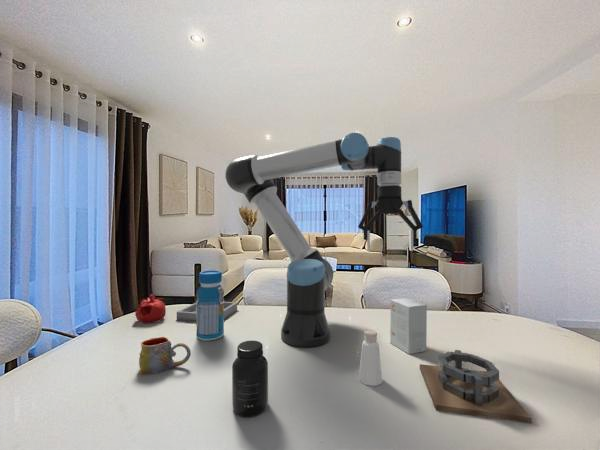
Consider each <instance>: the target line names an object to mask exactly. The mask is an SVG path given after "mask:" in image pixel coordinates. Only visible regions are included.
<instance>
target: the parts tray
mask: <svg viewBox="0 0 600 450" xmlns="http://www.w3.org/2000/svg"><path fill="white" fill-rule="evenodd" d="M195 310H196V302H194V303H192V304H190V305H188V306H186V307H184V308H182V309H180V310H178V311H176V321H179V322H180V321H182V322H190V323H191V322H193V323H197V313H196V312H195ZM237 311H238V302H236V301H235V302H232V301H224V320H225V319H227V318H229V316H231V315H232V314H233V313H235V312H237Z"/></svg>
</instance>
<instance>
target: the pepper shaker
mask: <svg viewBox="0 0 600 450" xmlns="http://www.w3.org/2000/svg"><path fill="white" fill-rule="evenodd" d="M377 339H378V332H377V331H376V330H372V329H367V330H365V331H364V340H363V341H362V343H361V344H362V345H361V355H360V362H359V372H358V380H359V382H360V383H362V384H364V385H366V386H371V387H376V386H379V385H381V384H383V378H382V377H383V375H382V366H381V365H382V364H381V356H380V355H381V354H380V343H379V342H378V341H377Z"/></svg>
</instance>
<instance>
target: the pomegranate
mask: <svg viewBox="0 0 600 450" xmlns="http://www.w3.org/2000/svg"><path fill="white" fill-rule="evenodd" d="M163 299H164V298H163V297H162V298H161V297H159V298H156V299H155V296H154V295H153V294H150V295H149V297H146V298H145V299H143V300H142V299H141V300H139V302H140V303H139V305H138V306H137V309H136V311H135V318H136V320H137V321H138V322H139V323H143V324H153V323H157V322H159V321H162V320H163V319H164V318H165V317H166V313H167V311H166V304H165V303H164V302H163V301H162V300H163Z"/></svg>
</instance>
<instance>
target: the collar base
mask: <svg viewBox="0 0 600 450" xmlns="http://www.w3.org/2000/svg"><path fill="white" fill-rule="evenodd" d="M419 370H420V373H421V375H422V378H423V380H424V383H425V387H426V388H427V392H428V394H429V397H430V399H431V400H432V404H433V407H434V409H435V411H441V412H449V413H454V414H455V413H457V414H462V415H463V414H464V415H469V416H470V415H471V416H475V417H476V416H478V417H484V418H485V417H486V418H491V419H499V420H504V421H505V420H506V421H507V420H508V421H513V422H521V423H529V424H532V422H533V417H532V416H531V415H530V414H529V412H528V411H527V410H526V409H525V408H524V407H523V406H522V404H521V403H520V402H519V401H518V400H517V399H516V397H515V396H514V395H513V394H512V393H511V391H509V389H508V388H507V387H506V386H505V385H504V384H503V383H502V381H501V380H500V378H499V379H498V380H497V381H495V382H494V383H495V384H496V385H497V387H498V388H499V397H497V398H496V399H494V400H493V401H491V402H490V403H482V406H478V405H475V404H474V402H473V401H467V400H465V399H461V398H459V397H457V396H455V395H453V394H451V393H450V392H448V391H446V390H444V389H443V388H442V386H441V383H440V381H439V379H438V372H439V371H440V370H442V369H441V367H440V365H432V364H431V365H429V364H422V363H421V364H419ZM473 370H474V371H476V372H478V373H481V374H485V373H487V371H486V370H480V369H479V370H477V369H473ZM448 381H449V382H451V383H453V384H455V385H457V386H459V387H461V388H463V389H465V390H473V383H466V382H462V381H460V380H458V379H456V378H454V377H452V376H451V377H450V378H448ZM485 390H487V387H486V386H485V385H483V392H484V391H485Z"/></svg>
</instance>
